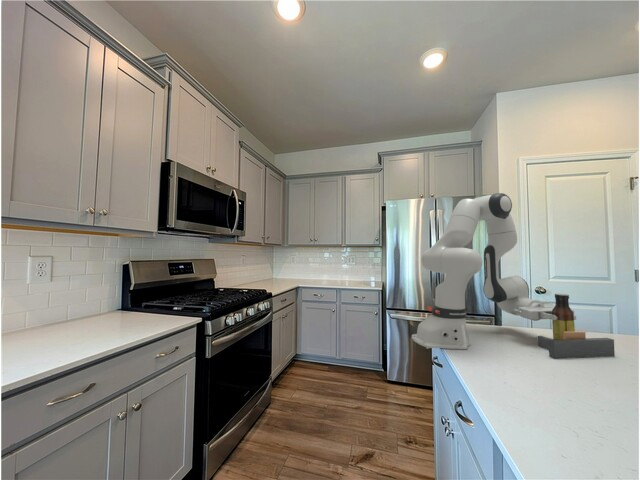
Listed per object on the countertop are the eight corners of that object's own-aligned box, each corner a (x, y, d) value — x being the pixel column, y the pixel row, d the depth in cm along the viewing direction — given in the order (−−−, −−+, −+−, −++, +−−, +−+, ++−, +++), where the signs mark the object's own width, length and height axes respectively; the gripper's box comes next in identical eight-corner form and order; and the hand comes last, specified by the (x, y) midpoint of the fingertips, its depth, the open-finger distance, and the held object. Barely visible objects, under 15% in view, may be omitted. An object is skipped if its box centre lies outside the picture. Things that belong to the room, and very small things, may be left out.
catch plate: (566, 353, 94) (565, 332, 95) (563, 351, 95) (562, 331, 96) (586, 352, 95) (585, 332, 95) (582, 351, 96) (581, 331, 97)
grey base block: (554, 358, 91) (554, 341, 91) (524, 346, 103) (523, 330, 103) (614, 356, 93) (613, 339, 93) (578, 344, 105) (577, 329, 105)
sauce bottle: (572, 345, 100) (572, 294, 101) (577, 350, 95) (577, 296, 95) (550, 342, 104) (550, 292, 104) (554, 347, 98) (554, 294, 99)
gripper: (510, 302, 111) (540, 309, 98) (552, 302, 113) (588, 309, 100) (510, 317, 111) (541, 326, 97) (553, 316, 113) (589, 325, 99)
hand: (565, 317), depth 99 cm, fingers closed on sauce bottle, 6 cm apart
